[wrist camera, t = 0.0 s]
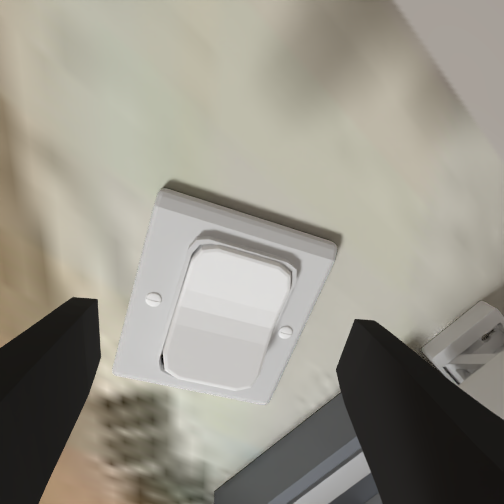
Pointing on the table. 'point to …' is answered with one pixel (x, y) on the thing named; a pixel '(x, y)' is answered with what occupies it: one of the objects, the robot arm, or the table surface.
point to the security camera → (473, 355)
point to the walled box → (308, 466)
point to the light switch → (219, 299)
